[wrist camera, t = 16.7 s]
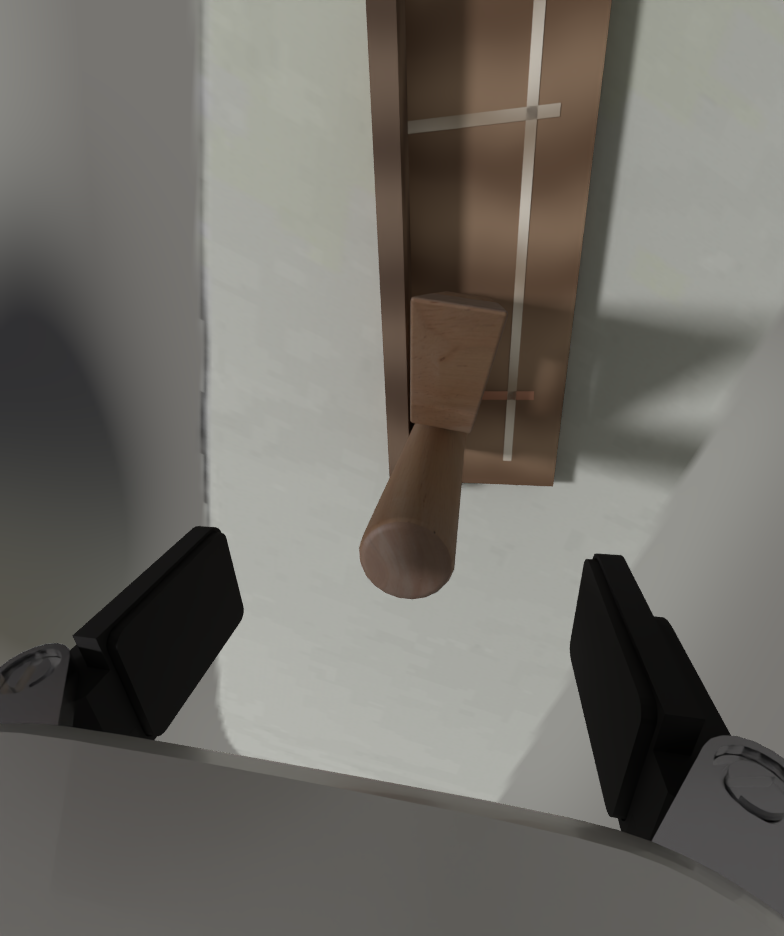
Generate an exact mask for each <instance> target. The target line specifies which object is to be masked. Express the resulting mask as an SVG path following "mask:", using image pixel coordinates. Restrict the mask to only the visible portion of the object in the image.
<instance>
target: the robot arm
mask: <svg viewBox="0 0 784 936" xmlns="http://www.w3.org/2000/svg"><path fill="white" fill-rule="evenodd" d="M243 613H244V608H243V603H242V599H241V595H240V591H239V587H238V583H237V579H236V575H235V571H234V567H233V563H232V559H231V555H230V551H229V547H228V543H227V539H226V536H225V535H224V534H223V533H221V531H220V530H219V529H218V528H216V527H203V526H197V527H194V528H193V529H192V530H191V531H189V532H188V533H187V534H186V535H185V536H184V537H183V538H181V539H180V540H179V541H178V542H177V543H176V544H175V545H174V546H172V547H171V548H170V549H169V550H168V551H167V552H166V553H165V554H164V555H163V556H161V557H160V558H159V559H158V560H157V561H156V562H155V563H153V564H152V565H151V566H150V567H149V568H148V569H147V570H146V571H144V572H143V573H142V574H141V575H140V576H139V577H138V578H137V579H136V580H134V581H133V582H132V583H131V584H130V585H129V586H128V587H126V588H125V589H124V590H123V591H122V592H121V593H120V594H119V595H118V596H117V597H115V598H114V599H113V600H112V601H111V602H110V603H109V604H107V605H106V606H105V607H104V608H103V609H102V610H101V611H100V612H98V613H97V614H96V615H95V616H94V617H93V618H92V619H91V620H89V621H88V622H87V623H86V624H85V625H84V626H83V627H82V628H81V629H79V630H78V631H77V632H76V633H75V634H74V635H73V638H74V640H75V642H76V644H77V645H76V646H74V647H73V648H72V649H71V650H69V648H68V647H67V646H66V645H63V644H59V643H51V644H44V645H41V646H37V647H34V648H31V649H29V650H27V651H24V652H22V653H20V654H18V655H17V656H15V657H13V658H12V659H10V660H8V661H7V662H6V663H5V664H3V665H2V666H1V667H0V936H784V758H782V757H781V756H779V755H778V754H776V753H775V752H774V751H772V750H770V749H768V748H766V747H764V746H762V745H760V744H758V743H756V742H754V741H751V740H747V739H745V738H741V737H738V736H731V735H730V733H729V731H728V729H727V727H726V726H725V724H724V722H723V720H722V718H721V716H720V714H719V713H718V711H717V709H716V707H715V705H714V704H713V702H712V700H711V698H710V696H709V695H708V692H707V691H706V689H705V687H704V685H703V683H702V681H701V679H700V678H699V676H698V674H697V672H696V670H695V668H694V667H693V665H692V663H691V661H690V659H689V657H688V655H687V654H686V652H685V650H684V648H683V646H682V644H681V643H680V641H679V639H678V637H677V635H676V633H675V632H674V630H673V628H672V626H671V625H670V623H669V622H668V620H666V619H665V618H663V617H654V616H653V614H652V612H651V610H650V608H649V606H648V604H647V602H646V600H645V598H644V596H643V594H642V592H641V590H640V588H639V586H638V584H637V582H636V581H635V579H634V577H633V575H632V573H631V571H630V569H629V567H628V565H627V563H626V561H625V559H624V557H623V556H621V555H610V554H594V556H593V559H586V560H585V562H584V566H583V572H582V577H581V583H580V589H579V595H578V600H577V606H576V612H575V618H574V623H573V629H572V635H571V641H570V657H571V662H572V666H573V670H574V675H575V679H576V683H577V687H578V692H579V695H580V700H581V704H582V709H583V713H584V717H585V721H586V726H587V730H588V734H589V738H590V743H591V747H592V751H593V755H594V759H595V764H596V768H597V772H598V776H599V781H600V785H601V789H602V793H603V798H604V802H605V806H606V809H607V812H608V814H609V816H610V817H615V818H618V821H619V825H620V828H621V831H619V830H616V829H611V828H608V827H604V826H600V825H596V824H592V823H588V822H585V821H580V820H576V819H573V818H569V817H564V816H559V815H554V814H549V813H544V812H539V811H534V810H530V809H525V808H520V807H515V806H510V805H505V804H500V803H496V802H491V801H486V800H481V799H476V798H470V797H465V796H460V795H454V794H449V793H443V792H438V791H433V790H427V789H422V788H417V787H411V786H406V785H400V784H395V783H390V782H384V781H379V780H374V779H368V778H363V777H357V776H352V775H346V774H341V773H335V772H330V771H324V770H319V769H313V768H308V767H302V766H297V765H291V764H286V763H280V762H274V761H269V760H263V759H258V758H252V757H246V756H241V755H235V754H230V753H224V752H218V751H213V750H207V749H201V748H195V747H189V746H184V745H178V744H172V743H166V742H160V741H155V738H156V737H157V736H160V735H162V734H163V733H164V732H165V731H166V729H167V728H168V726H169V725H170V724H171V722H172V721H173V719H174V718H175V716H176V715H177V713H178V712H179V711H180V709H181V708H182V706H183V705H184V703H185V702H186V700H187V699H188V697H189V696H190V695H191V693H192V692H193V690H194V689H195V687H196V686H197V684H198V683H199V681H200V680H201V678H202V677H203V676H204V674H205V673H206V671H207V670H208V668H209V667H210V665H211V664H212V662H213V661H214V660H215V658H216V657H217V655H218V654H219V652H220V651H221V649H222V648H223V646H224V645H225V643H226V642H227V641H228V639H229V638H230V636H231V635H232V633H233V632H234V630H235V629H236V627H237V626H238V625H239V623H240V621H241V620H242V617H243Z"/></svg>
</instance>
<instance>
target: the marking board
mask: <svg viewBox="0 0 784 936" xmlns="http://www.w3.org/2000/svg"><path fill="white" fill-rule="evenodd" d="M611 3H612V0H366V13H367V33H368V53H369V73H370V93H371V113H372V133H373V154H374V174H375V194H376V214H377V234H378V254H379V274H380V294H381V314H382V334H383V354H384V374H385V394H386V414H387V434H388V454H389V474H390V476H391V474H392V472H393V470H394V468H395V465H396V463H397V461H398V459H399V457H400V455H401V452H402V450H403V448H404V446H405V444H406V442H407V439H408V437H409V435H410V433H411V431H412V429H413V426H414V425H415V423H412V422H411V421H410V302H411V298H412V297H414V296H419V295H425V294H431V293H438V292H443V291H449V292H456V293H463V294H469V295H476V296H483V297H490V298H491V299H493V300H494V301H495V302H496V303H498V304H500V305H501V306H502V307H503V308H504V309H505V310H506V311H507V312H508V317H507V321H506V324H505V327H504V330H503V333H502V337H501V340H500V343H499V346H498V349H497V352H496V356H495V359H494V362H493V365H492V368H491V372H490V375H489V378H488V381H487V384H486V388H485V391H484V394H483V397H482V400H481V404H480V407H479V410H478V413H477V416H476V420H475V423H474V426H473V429H472V431H471V432H470V433H468V435H467V439H466V444H465V450H464V461H463V473H462V483H484V484H509V485H533V486H553V482H554V473H555V465H556V457H557V449H558V440H559V432H560V424H561V415H562V407H563V399H564V391H565V382H566V374H567V366H568V358H569V349H570V341H571V333H572V325H573V316H574V308H575V300H576V292H577V283H578V275H579V267H580V259H581V250H582V242H583V234H584V226H585V217H586V209H587V201H588V193H589V184H590V176H591V168H592V160H593V151H594V143H595V135H596V126H597V118H598V110H599V102H600V93H601V85H602V77H603V69H604V60H605V52H606V44H607V36H608V27H609V19H610V11H611Z"/></svg>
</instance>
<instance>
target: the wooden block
mask: <svg viewBox="0 0 784 936" xmlns="http://www.w3.org/2000/svg"><path fill="white" fill-rule="evenodd" d="M507 317H508V312H507V311H506V310H505V309H504V308H503V307H502V306H501V305H500V304H498V303H496V302H495V301H494V300H493V299H491V298H490V297H483V296H476V295H469V294H463V293H456V292H449V291H443V292H438V293H431V294H425V295H419V296H414V297H412V298H411V302H410V421H411V422H412V423H415V425H414V426H413V429H412V431H411V433H410V435H409V437H408V439H407V442H406V444H405V446H404V448H403V450H402V452H401V455H400V457H399V459H398V461H397V463H396V465H395V468H394V470H393V472H392V474H391V476H390V478H389V480H388V483H387V485H386V487H385V489H384V491H383V493H382V496H381V498H380V500H379V502H378V504H377V506H376V509H375V511H374V513H373V515H372V517H371V519H370V522H369V524H368V526H367V528H366V530H365V532H364V535H363V537H362V540H361V544H360V547H359V551H360V562H361V565H362V567H363V569H364V572H365V574H366V576H367V577H368V578H369V579H370V581H371V582H372V583H373V584H374V585H375V586H376V587H378V588H379V589H381V590H382V591H384V592H385V593H387V594H390V595H393V596H396V597H398V598H406V599H417V598H423V597H427V596H429V595H431V594H433V593H436V592H437V591H439V590H440V589H441V588H442V587H443V586H444V585H445V584H446V583H447V582H448V581H449V579H450V577H451V575H452V572H453V570H454V565H455V554H456V542H457V531H458V519H459V508H460V496H461V485H462V473H463V461H464V450H465V444H466V439H467V435H468V433H470V432H471V431H472V429H473V426H474V423H475V420H476V416H477V413H478V410H479V407H480V404H481V400H482V397H483V394H484V391H485V388H486V384H487V381H488V378H489V375H490V372H491V368H492V365H493V362H494V359H495V356H496V352H497V349H498V346H499V343H500V340H501V337H502V333H503V330H504V327H505V324H506V321H507Z"/></svg>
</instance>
